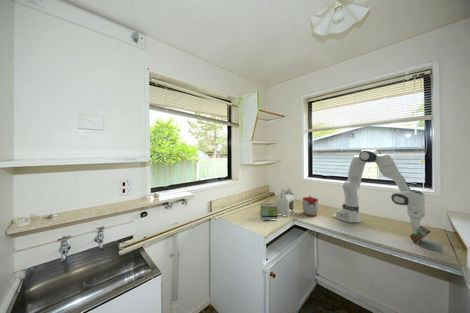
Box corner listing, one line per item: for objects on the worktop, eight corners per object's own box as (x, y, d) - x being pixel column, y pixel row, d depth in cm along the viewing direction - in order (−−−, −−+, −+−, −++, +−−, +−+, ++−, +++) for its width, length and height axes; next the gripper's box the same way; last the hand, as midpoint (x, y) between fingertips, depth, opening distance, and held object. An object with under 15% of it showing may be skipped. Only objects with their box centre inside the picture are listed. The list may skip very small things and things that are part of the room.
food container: (411, 232, 132) (421, 224, 128) (420, 240, 127) (431, 231, 123) (405, 235, 126) (415, 226, 122) (414, 243, 121) (426, 234, 117)
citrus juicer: (303, 217, 174) (303, 198, 173) (301, 211, 191) (301, 194, 190) (320, 218, 170) (320, 199, 169) (316, 212, 187) (316, 194, 186)
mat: (419, 246, 119) (419, 245, 119) (420, 238, 129) (420, 237, 129) (442, 252, 111) (442, 252, 111) (441, 243, 122) (441, 243, 122)
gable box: (287, 217, 176) (287, 190, 175) (275, 214, 184) (275, 188, 183) (294, 210, 194) (294, 186, 193) (283, 208, 202) (283, 185, 201)
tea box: (262, 221, 167) (262, 206, 166) (260, 217, 177) (260, 203, 177) (277, 220, 167) (277, 206, 167) (274, 216, 177) (274, 202, 177)
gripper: (410, 208, 135) (410, 225, 135) (408, 214, 121) (408, 233, 122) (422, 210, 130) (422, 227, 130) (421, 217, 116) (421, 237, 117)
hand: (415, 230), depth 126 cm, fingers open, 8 cm apart
